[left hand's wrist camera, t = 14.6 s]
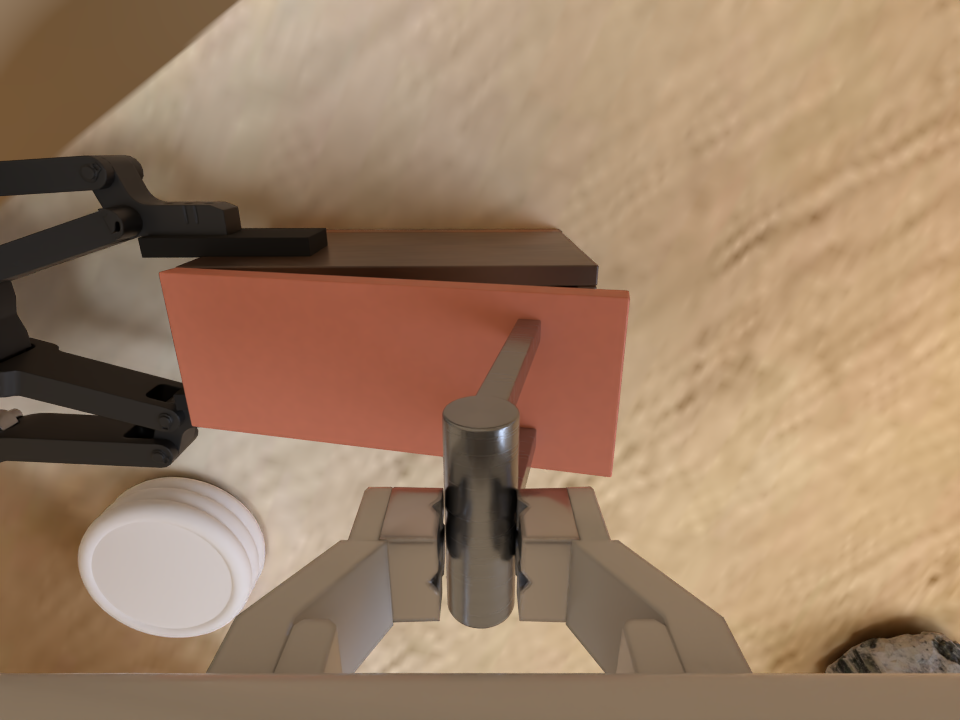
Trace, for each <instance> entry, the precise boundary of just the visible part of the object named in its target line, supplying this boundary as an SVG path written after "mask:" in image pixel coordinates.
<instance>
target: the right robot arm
mask: <svg viewBox="0 0 960 720" xmlns="http://www.w3.org/2000/svg"><path fill="white" fill-rule="evenodd" d="M143 176H144V175H143V169H142V166H141V164H140V163H139V162H138V161H137V160H136V159H135V158H133V157H131V156H126V155H104V156H72V157H57V158H42V159H27V160H12V161H0V196H10V195H25V194H40V193H56V192H71V191H87V190H92V191H93V192H94V194H95V196H96V197H97V199H98V201H99V202H100V204H101V206H102V207H103V208H101V209H98V210H99V211H98V212H95V213H92V214H89V215H86V216H84V217H81V218H78V219H75V220H72V221H69V222H66V223H63V224H60V225H57V226H55V227H52V228H49V229H46V230H43V231H40V232H37V233H34V234H31V235H29V236H26V237H23V238H20V239H17V240H14V241H11V242H8V243H5V244H3V245H0V397H10V396H23V397H27V398H31V399H35V400H39V401H43V402H47V403H51V404H55V405H59V406H63V407H67V408H71V409H75V410H79V411H83V412H87V413H91V414H95V415H79V414H58V413H38V414H30V415H26V416H23V414H22V412H21V411H20V410H18V409H11V410H9V411H7V410H2V409H0V462H3V461H25V462H47V463H70V464H92V465H114V466H136V467H159V468H162V467H167V466H169V465H171V463H172V462H173V461H174V460H175V459H176V458H177V457H178V456H179V455H180V454H181V453H182V452H183V451H184V450H185V449H186V448H187V447H188V446H189V445H190V444H191V443H192V442H193V441H194V440H195V439H196V437H197V436H198V429H197V427H195V426H192V424H191V419H190V414H189V410H188V405H187V401H186V396H185V391H184V387H183V383H180V382H176V381H173V380H169V379H165V378H161V377H157V376H153V375H150V374H146V373H142V372H138V371H134V370H130V369H127V368H123V367H119V366H115V365H111V364H107V363H104V362H100V361H96V360H92V359H88V358H84V357H81V356H77V355H73V354H69V353H65V352H62V351H60V350H59V346H57V345H55V344H53V343H49V342H45V341H41V340H37V339H33V338H30V337H29V336H28V333H27V330H26V329H25V327H24V325H23V324H22V322H21V320H20V319H19V317H18V315H17V312H16V296H15V292H14V289H13V286H12V283H11V281H12V280H15V279H18V278H21V277H23V276H26V275H29V274H32V273H35V272H37V271H40V270H43V269H46V268H49V267H51V266H54V265H57V264H60V263H63V262H66V261H69V260H72V259H75V258H78V257H81V256H84V255H87V254H90V253H93V252H96V251H99V250H102V249H105V248H108V247H111V246H114V245H117V244H119V243H122V242H125V241H128V240H131V239H134V238H137V237H140V238H138V241H139V245H140V249H141V254H142V258H162V257H310V256H312V255H313V254H315V253H317V252H318V251H320V250H321V249H323V248H324V247H326V246H327V245H328V242H327V232H326V228H241V223H240V217H239V211H238V207H237V206H235V205H232V204H229V203H227V202H165V201H161V200H158V199H157V198H155V197H154V196H153V195H152V194H151V193H150V192H149V191H148V189H147V188H146V186H145V184H144V182H143V181H142V179H143Z"/></svg>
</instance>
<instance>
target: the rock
mask: <svg viewBox="0 0 960 720" xmlns="http://www.w3.org/2000/svg"><path fill="white" fill-rule="evenodd" d="M825 673H960V645H959V644H958V643H957V642H956V641H953V642H952V641H951V640H950V639H948V638H947V637H946V636H945V635H944V634H941V633H936V632H921V633H920V634H916V635H910V634H904V635H899V636H896V637H893V638H889V639H886V638H871V639H869V640H867V641H864V642H862V643H860V644H858V645H856V646H854V647H852V648H851V649H849V650H848V651H847V652H846V653H845V654H843V655H842V656H841V657H840V658H839V659H837V660H836V661H835V662H833V663H832V664H831V665H829V666H828V667H827V669H826V671H825Z"/></svg>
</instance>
